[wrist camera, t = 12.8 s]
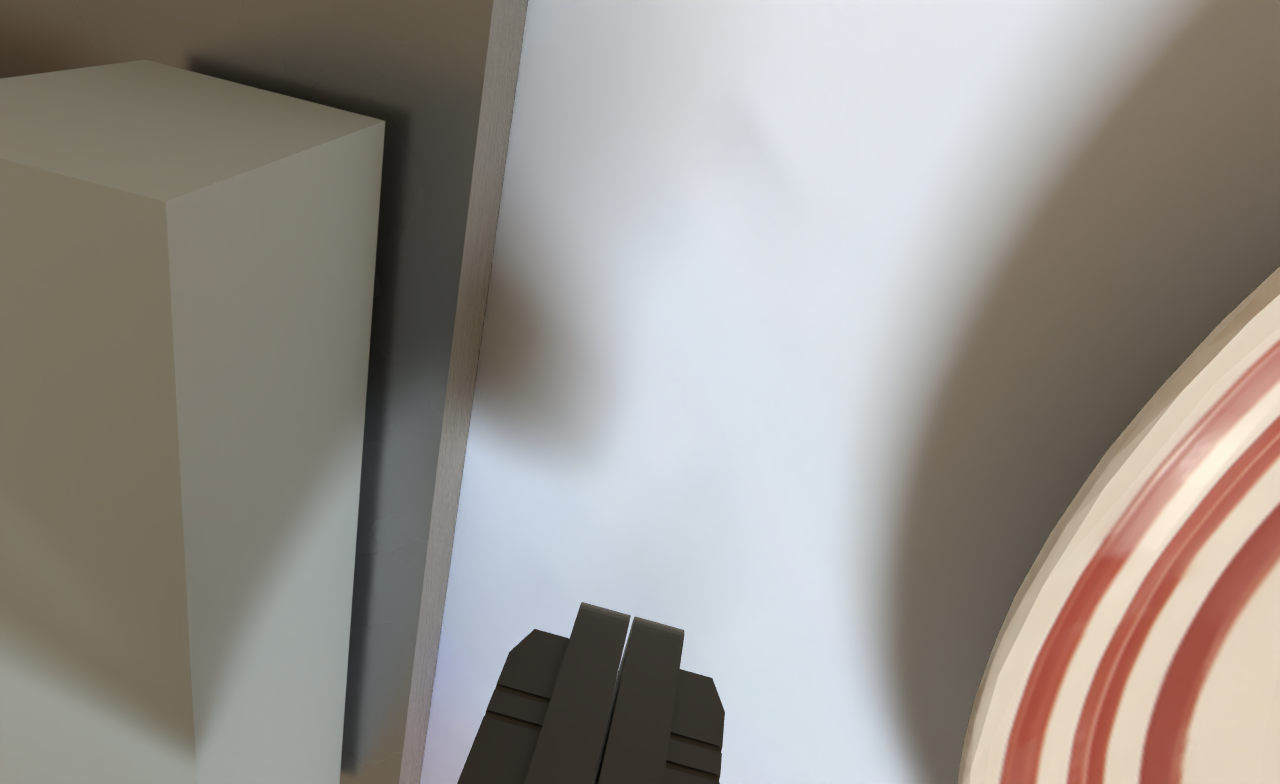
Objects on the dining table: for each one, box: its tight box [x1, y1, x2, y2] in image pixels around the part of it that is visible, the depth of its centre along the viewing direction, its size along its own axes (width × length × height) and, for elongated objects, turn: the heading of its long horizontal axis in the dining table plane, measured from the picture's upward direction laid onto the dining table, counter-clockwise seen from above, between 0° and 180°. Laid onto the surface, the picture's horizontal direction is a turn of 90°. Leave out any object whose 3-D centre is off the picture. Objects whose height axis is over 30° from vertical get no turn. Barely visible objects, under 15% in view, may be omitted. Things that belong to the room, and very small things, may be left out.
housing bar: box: [0, 60, 385, 784], centre depth 11 cm, size 3×13×4 cm, turn 168°
